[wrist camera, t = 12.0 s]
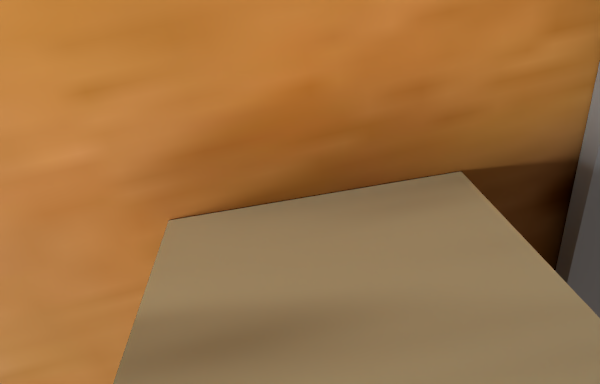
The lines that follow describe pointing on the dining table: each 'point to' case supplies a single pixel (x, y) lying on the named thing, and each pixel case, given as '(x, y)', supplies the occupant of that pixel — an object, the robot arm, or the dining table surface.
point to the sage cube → (359, 296)
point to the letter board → (585, 216)
